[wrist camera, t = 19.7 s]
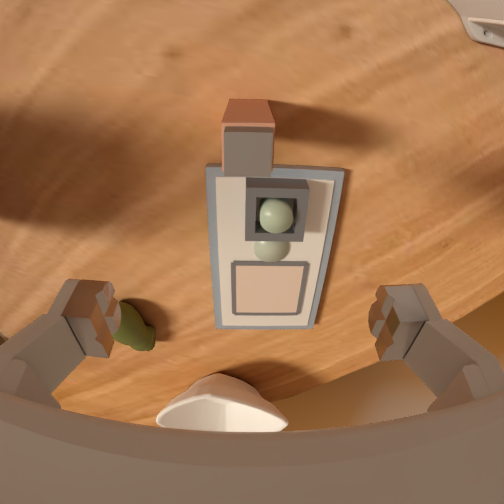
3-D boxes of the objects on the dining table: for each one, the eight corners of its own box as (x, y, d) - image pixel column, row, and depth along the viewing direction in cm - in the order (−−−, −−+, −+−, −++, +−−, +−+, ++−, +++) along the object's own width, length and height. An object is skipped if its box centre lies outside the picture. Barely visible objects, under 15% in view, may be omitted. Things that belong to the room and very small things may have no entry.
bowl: (211, 341, 49) (207, 388, 42) (299, 384, 57) (303, 423, 50) (149, 384, 57) (142, 421, 51) (229, 416, 66) (228, 450, 59)
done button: (291, 193, 32) (294, 205, 30) (289, 221, 34) (291, 233, 32) (259, 193, 32) (260, 204, 30) (258, 220, 34) (259, 233, 32)
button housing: (305, 179, 32) (309, 189, 30) (299, 229, 35) (303, 241, 33) (245, 177, 31) (245, 187, 29) (245, 228, 35) (244, 241, 33)
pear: (122, 323, 38) (163, 356, 45) (128, 291, 42) (165, 327, 49) (92, 330, 39) (134, 361, 46) (99, 299, 43) (137, 333, 50)
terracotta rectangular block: (266, 99, 28) (277, 129, 19) (265, 133, 30) (274, 180, 21) (229, 99, 28) (219, 128, 18) (229, 133, 30) (220, 179, 21)
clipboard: (342, 168, 32) (345, 173, 31) (311, 323, 46) (313, 330, 45) (206, 163, 32) (204, 168, 31) (216, 323, 46) (215, 330, 45)
